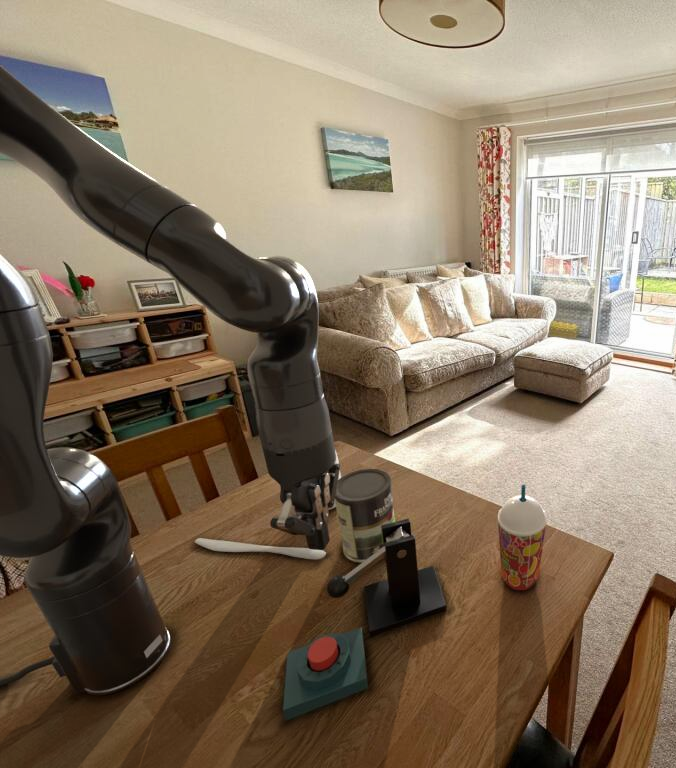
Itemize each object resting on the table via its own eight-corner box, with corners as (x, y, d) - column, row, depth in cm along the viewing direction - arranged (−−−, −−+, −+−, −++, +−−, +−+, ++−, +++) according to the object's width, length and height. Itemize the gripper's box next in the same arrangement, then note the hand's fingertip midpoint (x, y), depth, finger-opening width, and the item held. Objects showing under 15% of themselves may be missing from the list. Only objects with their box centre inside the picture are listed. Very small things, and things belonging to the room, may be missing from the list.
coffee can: (406, 529, 84) (400, 471, 79) (381, 567, 74) (373, 505, 69) (360, 521, 86) (352, 464, 80) (331, 557, 76) (319, 496, 71)
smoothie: (489, 569, 75) (489, 478, 67) (528, 554, 78) (532, 466, 71) (509, 604, 68) (512, 508, 60) (551, 586, 71) (559, 493, 64)
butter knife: (318, 562, 74) (327, 549, 77) (188, 546, 77) (200, 535, 80) (319, 564, 75) (328, 551, 77) (189, 549, 78) (201, 537, 80)
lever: (336, 606, 61) (322, 596, 59) (336, 590, 64) (322, 580, 62) (413, 547, 63) (402, 536, 61) (410, 533, 65) (398, 523, 64)
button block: (285, 721, 51) (279, 701, 50) (290, 662, 58) (284, 643, 57) (368, 688, 55) (364, 669, 54) (363, 637, 62) (360, 618, 60)
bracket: (370, 637, 62) (359, 564, 56) (365, 591, 69) (354, 523, 64) (446, 611, 66) (443, 540, 61) (433, 570, 74) (429, 504, 69)
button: (309, 675, 53) (307, 666, 52) (310, 650, 56) (308, 642, 55) (338, 664, 54) (337, 656, 54) (337, 641, 57) (336, 632, 57)
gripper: (296, 407, 54) (316, 512, 61) (227, 461, 42) (262, 585, 48) (351, 410, 54) (365, 514, 60) (297, 465, 42) (323, 588, 48)
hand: (319, 545), depth 54 cm, fingers closed
